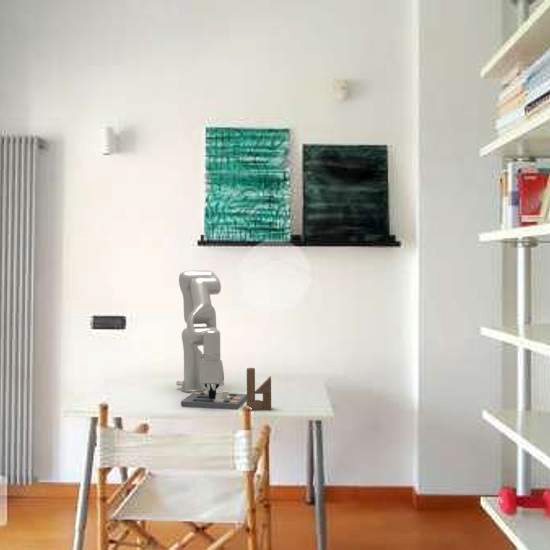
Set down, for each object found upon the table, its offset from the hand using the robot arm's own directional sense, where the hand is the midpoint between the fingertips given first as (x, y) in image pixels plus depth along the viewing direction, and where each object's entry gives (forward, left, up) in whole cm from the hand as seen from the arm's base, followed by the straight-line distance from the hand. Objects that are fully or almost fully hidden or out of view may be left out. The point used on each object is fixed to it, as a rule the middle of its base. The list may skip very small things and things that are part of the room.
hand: (212, 398), depth 249 cm
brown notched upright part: (+21, -1, -4) cm, 22 cm away
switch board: (-1, +6, -4) cm, 7 cm away
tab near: (+3, 0, -2) cm, 4 cm away
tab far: (-5, +12, -3) cm, 13 cm away
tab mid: (+4, +6, -3) cm, 8 cm away
